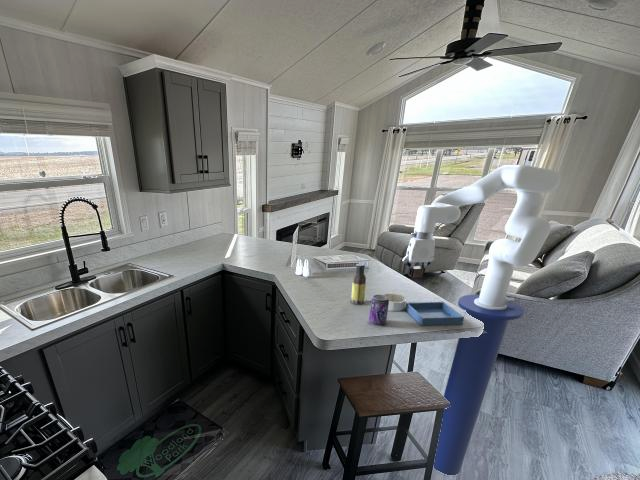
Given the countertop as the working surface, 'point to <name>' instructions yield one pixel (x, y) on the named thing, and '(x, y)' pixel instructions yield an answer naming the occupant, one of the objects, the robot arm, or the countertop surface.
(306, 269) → the shaker set
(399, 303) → the white round bowl
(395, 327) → the countertop surface
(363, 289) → the sauce bottle
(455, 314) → the tub
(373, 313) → the beverage can
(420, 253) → the robot arm
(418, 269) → the block
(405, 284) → the countertop surface
